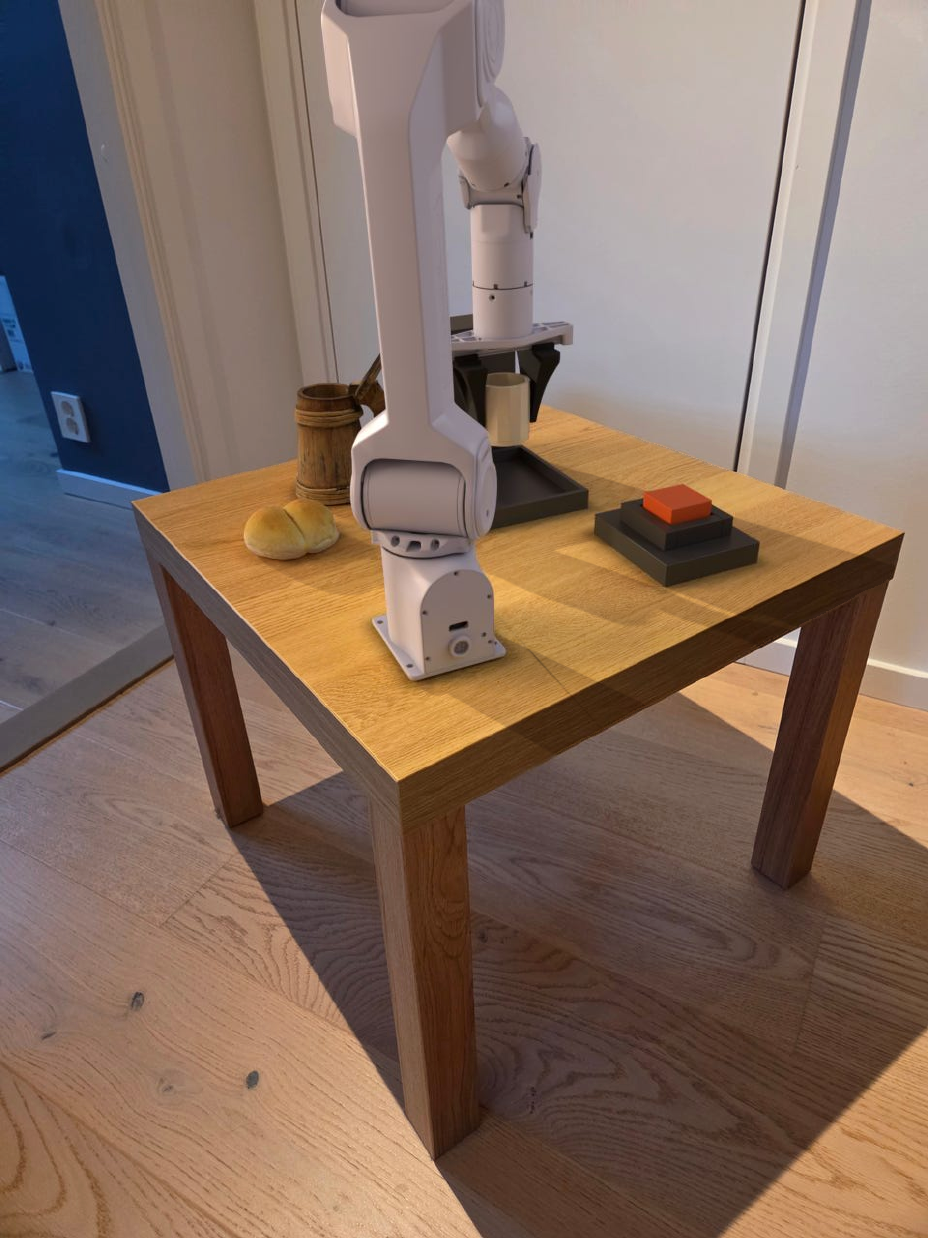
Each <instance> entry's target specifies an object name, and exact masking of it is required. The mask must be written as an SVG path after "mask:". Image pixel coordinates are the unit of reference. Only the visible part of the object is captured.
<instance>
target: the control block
mask: <svg viewBox="0 0 928 1238" xmlns="http://www.w3.org/2000/svg"><path fill="white" fill-rule="evenodd" d="M643 499H644V497H641V498H638V499H633V500H632V499H631V500H627V501H623V502H621V503H620V507H619V508H615V509H610V510H605V511H601V512H598V513H595V514H594V523H593V524H594V525H593V535H595V536H596V537H597V538H599V539H600V540H601V541H603V542H604V543H605V544H607V545H608V546H609V547H611V549H613V550H615V551H616V552H617V553H619V554H620V555H621V556H622V557H624V558H625V559H626V560H628V561H629V562H631V563H632V564H633V565H635V566H636V567H637V568H638V569H640V570H641V571H642V572H643V573H645V574H646V575H648V576H649V577H651V578H652V579H653V580H654V581H655V582H656V583H658V584H659V585H661V586H663V587H664V588H668V587H672V586H673V587H674V586H676V585H679V584H684V583H687V582H691V581H694V580H699V579H703V578H705V577H709V576H714V575H717V574H720V573H725V572H728V571H732V570H736V569H740V568H743V567H746V566H751V565H754V564H757V563H758V562H757V561H758V557H759V550H760V544H761V542H760V541H759V540H758V539H756V538H755V537H753V536H751V535H749V534H748V533H746V532H744V531H743V530H741V529H739V528H738V527H736V526H734V525H733V524H734V516H733V515H732V514H730V513H728V512H727V511H725V510H723V509H721V508H720V507H717V506H716V505H715V504H713V503H712V505H711V512H710V516H707V517H702V518H698V519H694V520H690V521H686V522H682V523H678V524H673V525H668V524H667V523H665V522H664V521H662V520H661V519H659V518H658V517H656V516H655V515H653V514H652V513H650V512H649V511H647V510H645V509H644V508H643Z"/></svg>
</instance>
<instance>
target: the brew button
mask: <svg viewBox="0 0 928 1238" xmlns="http://www.w3.org/2000/svg"><path fill="white" fill-rule="evenodd" d="M643 498H644V499H643V508H644V509H645V510H647V511H649V512H650V513H652V514H653V515H655V516H656V517H658V518H659V519H661V520H662V521H664V522H665V523H667V524H668V525H673V524H678V523H682V522H686V521H690V520H694V519H698V518H702V517H707V516H710V512H711V505H712V504H713V500H712V499H710V498H709V497H707V496H705V495H704V494H702V493H700V492H698V491H697V490H695V489H693V488H691V487H690V486H688V485H686V484H684V483H680V484H676V485H672V486H666V487H662V488H658V489H654V490H649V491H644V492H643Z"/></svg>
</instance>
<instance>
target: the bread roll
mask: <svg viewBox="0 0 928 1238" xmlns="http://www.w3.org/2000/svg"><path fill="white" fill-rule="evenodd" d="M335 520H336V519H335V517H334V513H333V512H331V510H330V509H329V507H328V506H326V505H323V504H322V503H320V502H318V501H315V500H311V499H299V498H296V499H294V500H292V501H290V502H288V503H287V504H286V505H285V506H283V507H278V506H265V507H262V508H260V509H258V510H256V511H255V512H253V514H251V516H250V517H249V518H248V520H247V522H246V524H245V526H244V531H243V540H244V544H245V545H246V548H248V550H249V551H250V552H251V553H253V554H255V555H257V556H259V557H264V558H267V559H272V560H278V561H279V560H280V561H286V560H287V561H288V560H293V559H295V560H296V559H300V558H302V557H303V556H305V555H306V554H317V553H320V552H323V551H325V550H327V549H329V548H331V547H332V546H333V545H334V544H335V543H336V542H337V540H338V539H339V537H340V532H339V530H338V529H337V527H336V521H335Z"/></svg>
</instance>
